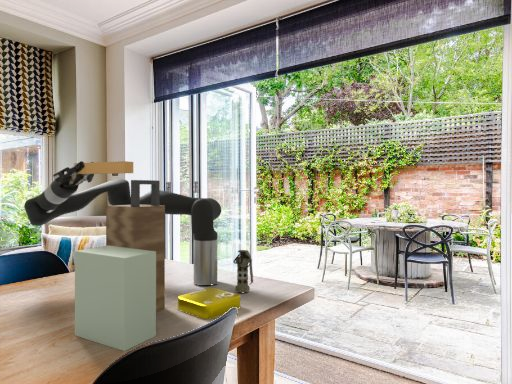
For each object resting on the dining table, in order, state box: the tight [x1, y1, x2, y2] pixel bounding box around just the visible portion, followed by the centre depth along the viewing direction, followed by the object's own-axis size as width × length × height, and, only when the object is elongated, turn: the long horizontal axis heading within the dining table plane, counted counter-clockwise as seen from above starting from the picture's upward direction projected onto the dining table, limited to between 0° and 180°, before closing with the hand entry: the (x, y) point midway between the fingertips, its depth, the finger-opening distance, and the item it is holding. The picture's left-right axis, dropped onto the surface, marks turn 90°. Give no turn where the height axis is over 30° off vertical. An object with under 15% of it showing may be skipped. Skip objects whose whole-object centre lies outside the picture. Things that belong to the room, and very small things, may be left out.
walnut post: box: [105, 204, 166, 312], centre depth 112 cm, size 12×12×32 cm
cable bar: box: [73, 160, 134, 175], centre depth 119 cm, size 24×4×4 cm, turn 61°
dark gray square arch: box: [130, 179, 161, 207], centre depth 110 cm, size 2×10×8 cm, turn 151°
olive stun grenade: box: [233, 249, 254, 293], centre depth 132 cm, size 6×7×15 cm
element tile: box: [177, 286, 241, 320], centre depth 115 cm, size 15×15×5 cm
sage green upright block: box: [74, 245, 157, 352], centre depth 94 cm, size 18×10×22 cm, turn 61°
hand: (88, 164), depth 123 cm, fingers closed on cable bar, 3 cm apart
